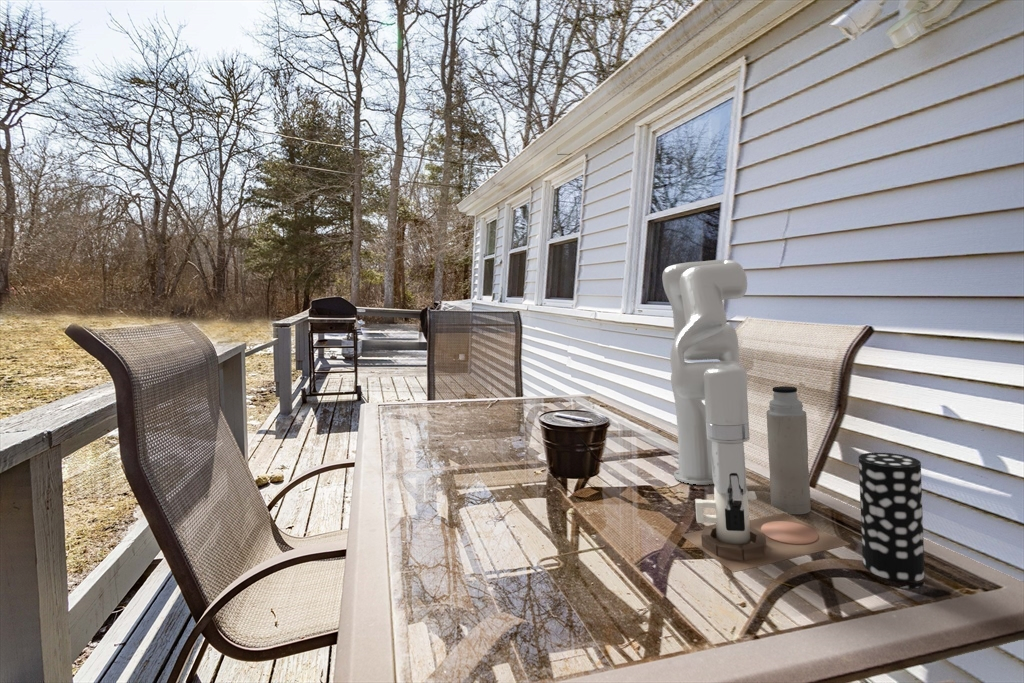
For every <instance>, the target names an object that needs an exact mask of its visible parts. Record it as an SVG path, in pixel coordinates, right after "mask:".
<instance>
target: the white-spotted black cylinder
mask: <svg viewBox="0 0 1024 683" xmlns="http://www.w3.org/2000/svg"><path fill="white" fill-rule="evenodd" d="M858 472H859V473H858V479H859V500H860V502H859V503H860V504H859V505H860V522H861V523H860V525H861V530H860V531H861V552H862V553H861V554H862V565H863V567H864V568H865V569H866V570H867V571H868V572H869V573H872V574H874V575H875V576H878V577H881V578H884V579H888V580H891V581H894V582H895V581H897V582H902V583H903V582H904V583H905V582H906V583H911V584H908V585H904V586H900V587H899V589H906V590H907V589H909V588H910V589H911V588H912V589H917V588H918V589H919V588H921V587H923V586H924V585H925V582H926V581H925V580H924V578H925V575H926V574H925V553H924V552H925V548H924V547H925V546H924V520H923V518H924V517H923V494H922V491H923V490H922V489H923V487H922V486H923V485H922V462H921V461H920V460H919V459H918V458H914V457H913V456H912V457H911V456H908V455H904V454H900V453H899V454H898V453H893V452H892V453H891V452H866V453H862V454H859V455H858ZM921 580H922V581H921ZM913 582H915V583H913ZM910 589H909V590H910Z"/></svg>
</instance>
